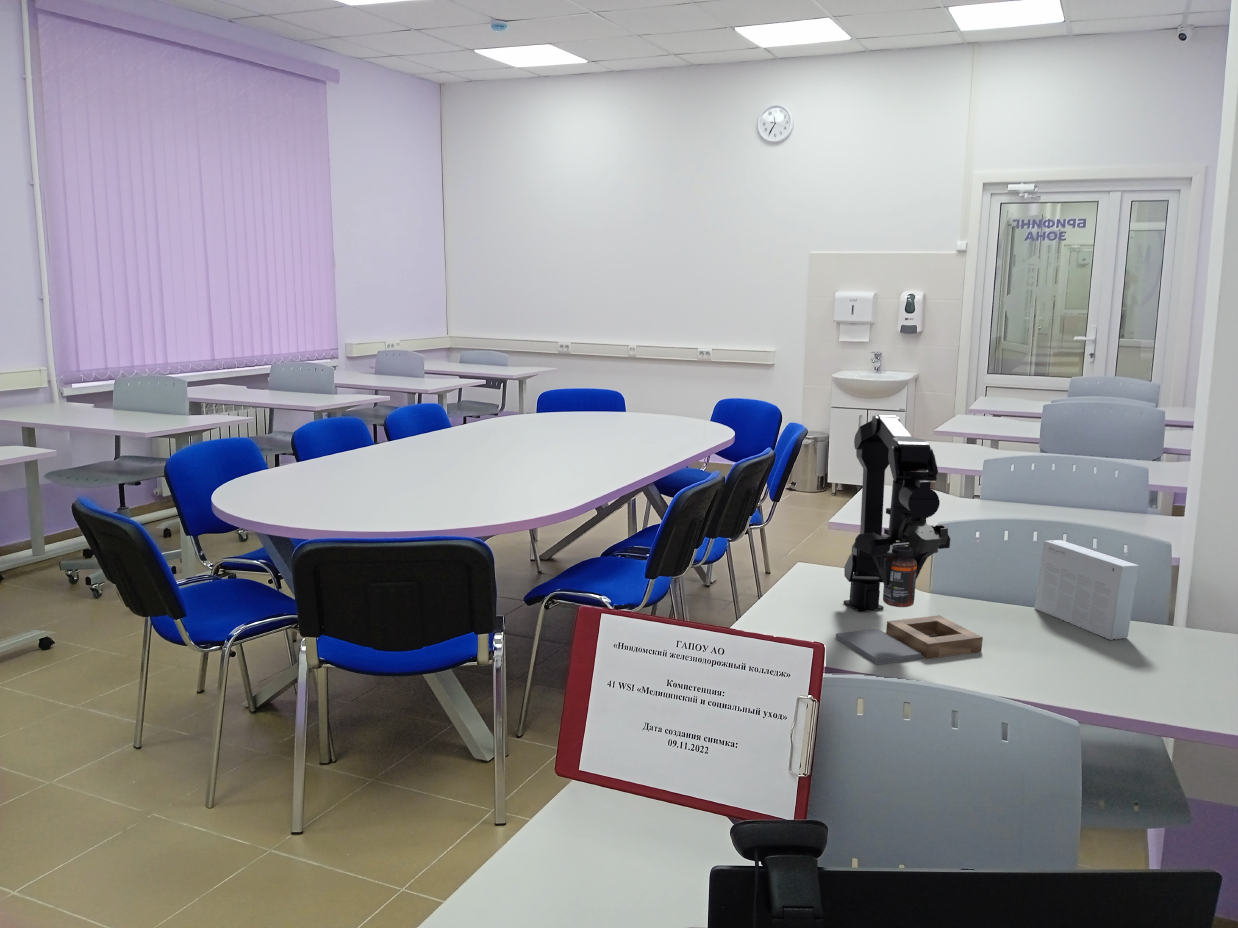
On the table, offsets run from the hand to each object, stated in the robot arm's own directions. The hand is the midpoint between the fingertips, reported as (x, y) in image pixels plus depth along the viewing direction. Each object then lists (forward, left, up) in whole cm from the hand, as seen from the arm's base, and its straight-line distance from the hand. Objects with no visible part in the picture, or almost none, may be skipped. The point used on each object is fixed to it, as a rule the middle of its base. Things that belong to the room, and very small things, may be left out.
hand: (899, 583), depth 191 cm
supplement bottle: (0, 0, -4) cm, 4 cm away
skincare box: (0, +49, -13) cm, 50 cm away
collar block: (+1, +9, -13) cm, 16 cm away
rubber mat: (0, -3, -13) cm, 13 cm away
